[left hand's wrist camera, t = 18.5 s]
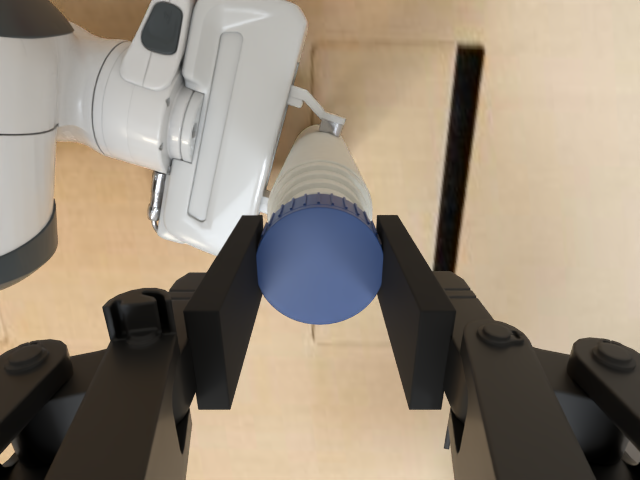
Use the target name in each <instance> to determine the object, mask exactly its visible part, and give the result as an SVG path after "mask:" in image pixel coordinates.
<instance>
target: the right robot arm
mask: <svg viewBox="0 0 640 480" xmlns="http://www.w3.org/2000/svg"><path fill="white" fill-rule="evenodd" d="M307 32H308V21H307V19H306V17H305V15H304V13H303V11H302V9H301V8H300V7H299V6H298V5H296V4H294V3H292V2H289V1H286V0H151V3H150V5H149V7H148V9H147V11H146V14H145V16H144V18H143V20H142V22H141V24H140V26H139V29H138V31H137V33H136V35H135V37H134V38H133V40H132V42H131V41H128V40H122V39H105V38H101V37H98V36H95V35H93V34H91V33H90V32H88V31H86V30H85V29H83V28H82V27H80V26H78V25H77V24H75V23H73V22H70V21H68V20H67V19H66V18H65V17H64V16H63V15H62V13H61V12H60V11H59V10H58V9H57V8H56V7H55V6H54V5H53V4H52V3H51V2H50V1H49V0H0V290H3V289H5V288H7V287H10V286H12V285H14V284H16V283H18V282H20V281H21V280H23V279H25V278H26V277H28V276H29V275H31V274H32V273H33V272H35V271H36V270H37V269H39V268H40V267H41V266H42V265H43V264H44V263H46V262H47V261H48V260H49V259H50V258H51V257H52V255H53V254H54V253H55V251H56V248H57V245H58V235H57V218H56V204H55V199H54V183H55V161H56V141H59V142H76V143H80V144H84V145H86V146H88V147H90V148H92V149H93V150H95V151H96V152H98V153H100V154H102V155H104V156H107V157H110V158H113V159H117V160H120V161H124V162H127V163H130V164H134V165H137V166H141V167H144V168H147V169H151V170H153V176H152V184H151V200H150V204H149V206H148V212H147V215H148V219H149V220H151V222H152V226H153V228H154V230H155V231H156V232H157V234H158V236H160V237H161V238H163V239H166V240H170V241H173V242H177V243H183V244H185V243H186V244H188V245H190V246H193V247H195V248H197V249H199V250H202V251H204V252H207V253H209V254H212V255H215V256H217V255H218V254H219V252H220V250H221V249H222V247H223V245H224V244H225V242H226V241H227V239H228V237H229V236H230V234H231V232H232V231H233V229H234V228H235V226H236V224H237V223H238V221H239V219H240V218H241V216H242V215H260V212H262V213H266V214H267V205H268V199H269V195H270V192H271V191H268V190H266V188H267V184H268V181H269V177H270V173H271V169H272V165H273V162H274V158H275V154H276V150H277V146H278V142H279V139H280V135H281V131H282V127H283V123H284V120H285V116H286V112H287V108H288V105H292V106H295V107H298V108H301V107H302V106H303V103H304V102H305V103H306V104H307V105H308V106H309V107H310V108H311V109H312V110H313V112H314V113H315V114H316V115H317V116H318V117H319V118H320V119H321V122H320V126H319V131H321V132H324V133H329V132H330V133H331V134H332V135H334V136H337V137H340V135H341V132H342V129H343V126H344V123H345V120H346V118H344V117H342V116H339V115H336V114H333V113H330V112H327V111H324V108H323V107H322V106H321V105H320V104H319V103H318V101H317V100H316V99H315V98H314V97H313V96H312V95H311V93H310V92H309V91H308V90H306V89H303V88H300V87H297V86H294V82H295V78H296V74H297V70H298V66H299V63H300V59H301V55H302V51H303V47H304V43H305V40H306V36H307ZM158 220H159V224H158V225H157V222H156V221H158Z"/></svg>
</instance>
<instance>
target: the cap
mask: <svg viewBox="0 0 640 480" xmlns="http://www.w3.org/2000/svg"><path fill="white" fill-rule="evenodd" d="M381 246H382V243H381V241H380V238H379V236H378V233H377V231H376V228H375V226H374V223H373V221H370V220H369V218H368V216H367V214H366V212H365V211H364V212H363V211H362V210H361V209H360V208H359V207H357V204H356V203H354V204H353V203H352V202H350V201H348V200H346V198H345V197H343V198H341V197H338V196H335V195H333V193H331V194H330V195H329V194H320V192H317V194H310V195H307V194H304V196H301V197H299V198H296V199H295V198H292V201H290V202H288V203H286V204H285V205H283V204H282V205H281V207H280V209H279V210H278V211H276V213H274V212H273V213H272V216H271V218H270V220H269V222H268V223H267V222H266V224H265V226H264V229H263V231H262V234H261V239H260V242H259V244H258V249H257V252H256V260H257V275H258V286H259V288H260V290H261V292H262V293H263V295H264V297H265V298H266V299H267V301H268V302H269V303H270V304H271V305H272V306H273V307H274V308H275V309H276V310H278V311H279V312H280V313H282V314H283V315H285V316H287V317H289V318H291V319H294V320H296V321H299V322H303V323H308V324H319V325H322V324H332V323H337V322H340V321H344V320H346V319H348V318H351V317H353V316H354V315H356V314H358V313H359V312H361V311H362V310H363V309H364V308H366V307H367V306H368V305H369V304H370V303H371V301H372V300H373V299H374V298H375V296H376V294H377V293H378V291H379V289H380V287H381V283H382V268H383V250H382V247H381Z"/></svg>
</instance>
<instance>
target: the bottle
mask: <svg viewBox="0 0 640 480" xmlns="http://www.w3.org/2000/svg"><path fill="white" fill-rule="evenodd" d="M319 126H320V124H317V125H312V126H309V127H307V128H306V129H304V130H303V131H302V132H301V133H300V134H299V135H298V137H297V138H296V140H295V142H294V144H293V146H292V148H291V150H290V153H289V155H288V157H287V159H286V161H285V163H284V165H283V167H282V169H281V171H280V173H279V175H278V177H277V179H276V181H275V183H274V186H273V188H272V190H271V192H270V195H269V199H268V205H267V219H268V222H269V220H270V218H271V216H272V213H273V212H274V213H276V211H278V210H279V209H280V207H281V205H282V204H283V205H285V204H286V203H288V202H290V201H292V198H295V199H296V198H299V197H301V196H304V194H307V195H310V194H317V192H320V194H329V195H330V194H331V193H333V195H335V196H338V197H341V198H343V197H345V198H346V200H348V201H350V202H352V203H353V204H354V203H356V204H357V207H359V208H360V209H361V210H362V211H363V212H364V211H365V212H366V214H367V216H368V218H369V220H370V221H372V201H371V196H370V193H369V191H368V188H367V186H366V184H365V182H364V180H363V178H362V176H361V174H360V172H359V170H358V168H357V166H356V164H355V162H354V159H353V157H352V155H351V153H350V151H349V149H348V147H347V145H346V143H345V141H344V139H343V137H342V136H341V135H340V137H337V136H334V135H332V134H331V133H330V132H329V133H324V132H321V131H319Z"/></svg>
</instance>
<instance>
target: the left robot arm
mask: <svg viewBox="0 0 640 480" xmlns="http://www.w3.org/2000/svg"><path fill="white" fill-rule="evenodd" d="M262 231H263V216H262V215H242V216H241V218H240V219H239V221H238V223H237V224H236V226H235V228H234V229H233V231H232V232H231V234H230V236H229V237H228V239H227V241H226V242H225V244H224V245H223V247H222V249H221V250H220V252H219V254H218V255H217V257H216V258H215V260H214V262H213V263H212V265H211V267H210V268H209V270H208V271H207V273H188V274H186V275H185V276H183V277H181V278H180V279H178V280H177V281H176V282H175V283H174V284H173V286H172V287H171V288H170V290H169V292H167V291H166V290H163V289H158V288H142V289H136V290H131V291H128V292H125V293H122V294H119V295H117V296H116V297H114V298H112V299H110V300H109V301H108V302H107V303H106V304H105V305H104V306H103V307H102V308H103V312H104V316H105V320H106V324H107V328H108V332H109V336H110V340H111V341H110V343H109V345H108V348H107V349H104V350H100V351H96V352H91V353H86V354H81V355H76V356H69V352H68V349H67V346H66V345H65V344H64V343H63V342H62V341H58V340H52V339H48V340H36V341H31V342H30V343H28V342H27V343H24V344H21V345H19V346H18V347H16V348H13V349H11V350H9V351H7V352H5V353H4V354H2V355H0V454H1V453H2V452H3V451H4V450H5V449H6V447H7V446H8V445H9V444H10V443H12V446H13V448H14V450H15V453H14V454H13V455H12V456H11V457H10V458H9V460H7V461H6V462H5V463H4V464H3V465H2V464H0V480H186V472H187V463H188V454H189V446H190V437H191V429H192V420H191V414H190V408H189V407H190V405H191V402H192V400H193V397H194V395H195V392H196V397H197V404H198V410H230V409H231V405H232V401H233V398H234V394H235V391H236V387H237V384H238V380H239V376H240V373H241V369H242V366H243V362H244V358H245V355H246V351H247V348H248V344H249V341H250V337H251V333H252V330H253V326H254V323H255V319H256V315H257V312H258V308H259V305H260V301H261V297H262V294H263V293H262V292H261V290H260V288H259V286H258V275H257V260H256V252H257V249H258V244H259V242H260V239H261V234H262ZM376 231H377V233H378V236H379V238H380V241H381V243H382V246H381V247H382V250H383V268H382V283H381V287H380V289H379V291H378V293H377V295H378V299H379V303H380V306H381V310H382V313H383V317H384V321H385V324H386V328H387V331H388V335H389V338H390V342H391V346H392V349H393V353H394V356H395V360H396V364H397V367H398V371H399V374H400V378H401V382H402V385H403V389H404V392H405V396H406V400H407V403H408V407H409V410H441V407H442V401H443V394H444V392H445V394H446V396H447V399H448V401H449V404H450V406H451V408H450V414H449V420H448V426H447V432H446V438H445V444H444V449H449V446H450V445H451V454H452V462H453V471H454V479H455V480H640V354H639V353H638V352H636V351H635V350H633V349H631V348H629V347H626V346H624V345H622V344H621V343H618V342H615V341H610V340H608V339H602V338H601V339H600V338H590V337H589V338H583V339H579V340H577V341H576V342H575V343H574V344H573V347H572V350H571V354H570V355H568V354H563V353H558V352H552V351H547V350H542V349H538V348H534V347H532V345H531V343H530V341H529V339H528V338H527V337H526V336H525V334H524V333H522V332H521V331H520V330H518V329H517V328H515V327H513V326H511V325H508V324H506V323H503V322H500V321H495V320H494V319H493V318H492V317H491V315H490V314H489V313H488V311H487V310H486V309H485V307H484V306H483V305H482V303H481V302H480V301H479V299H478V298H476V295H475V294H474V293H473V291H470V288H469V286H468V285H467V284H466V282H465V281H464V280H463V279H462V278H460V277H459V276H457V275H456V274H454V273H452V272H451V271H431V269H430V267H429V266H428V264H427V262H426V261H425V259H424V258H423V256H422V254H421V253H420V251H419V249H418V248H417V246H416V245H415V243H414V241H413V240H412V238H411V236H410V235H409V233H408V232H407V230H406V228H405V227H404V225H403V223H402V222H401V220H400V219H399V217H398V215H377V225H376Z"/></svg>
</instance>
